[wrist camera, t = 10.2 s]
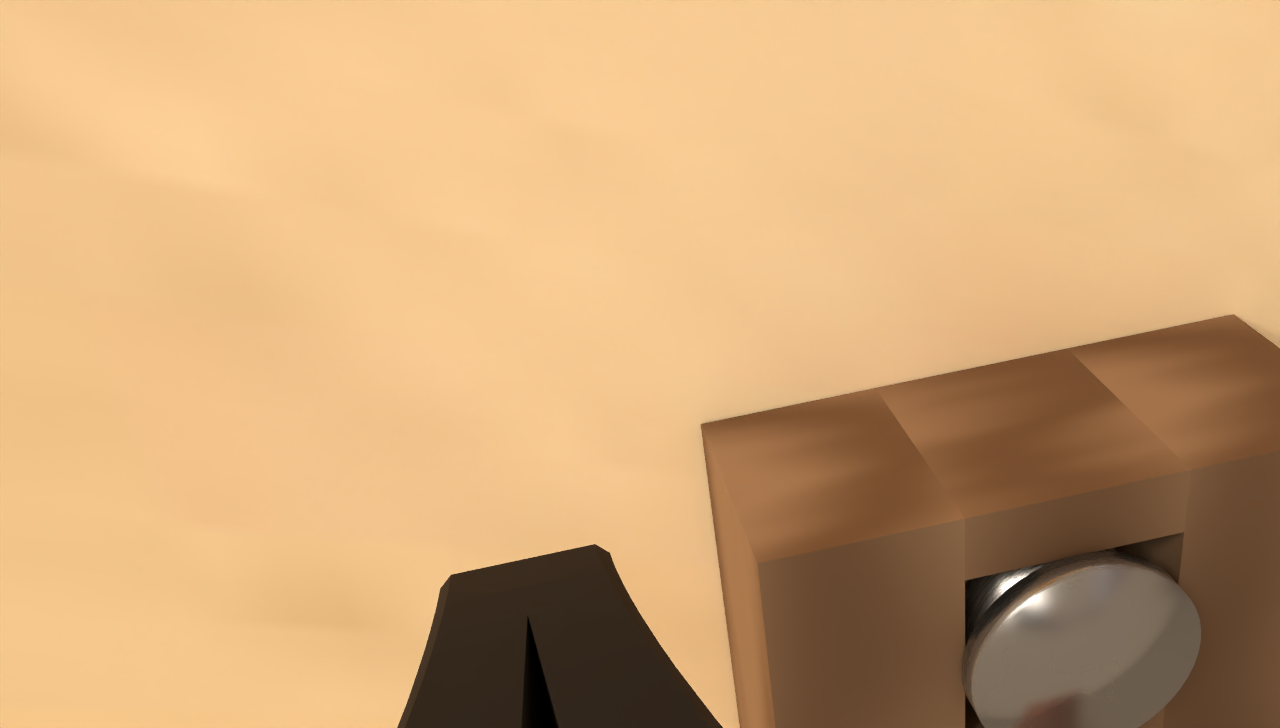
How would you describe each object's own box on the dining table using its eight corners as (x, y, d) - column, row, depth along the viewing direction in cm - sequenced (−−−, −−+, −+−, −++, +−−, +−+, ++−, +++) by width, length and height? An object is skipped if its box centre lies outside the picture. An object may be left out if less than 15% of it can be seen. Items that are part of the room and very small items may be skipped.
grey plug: (1085, 415, 22) (1213, 548, 18) (1075, 577, 24) (1190, 726, 20) (883, 458, 22) (973, 601, 18) (890, 618, 24) (973, 777, 20)
